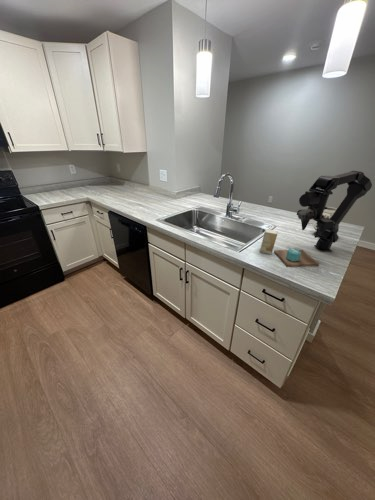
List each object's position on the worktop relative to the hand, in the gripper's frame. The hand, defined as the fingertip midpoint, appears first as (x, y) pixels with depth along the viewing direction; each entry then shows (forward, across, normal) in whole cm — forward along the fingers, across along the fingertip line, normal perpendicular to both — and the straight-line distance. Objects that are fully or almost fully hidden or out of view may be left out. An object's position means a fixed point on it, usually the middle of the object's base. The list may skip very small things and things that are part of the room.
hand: (309, 233), depth 103 cm
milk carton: (+13, -39, +37) cm, 55 cm away
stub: (+10, +6, -12) cm, 17 cm away
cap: (+10, +6, -12) cm, 16 cm away
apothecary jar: (+13, -18, +28) cm, 35 cm away
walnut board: (+11, +5, -8) cm, 15 cm away
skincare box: (+11, -5, -19) cm, 23 cm away
